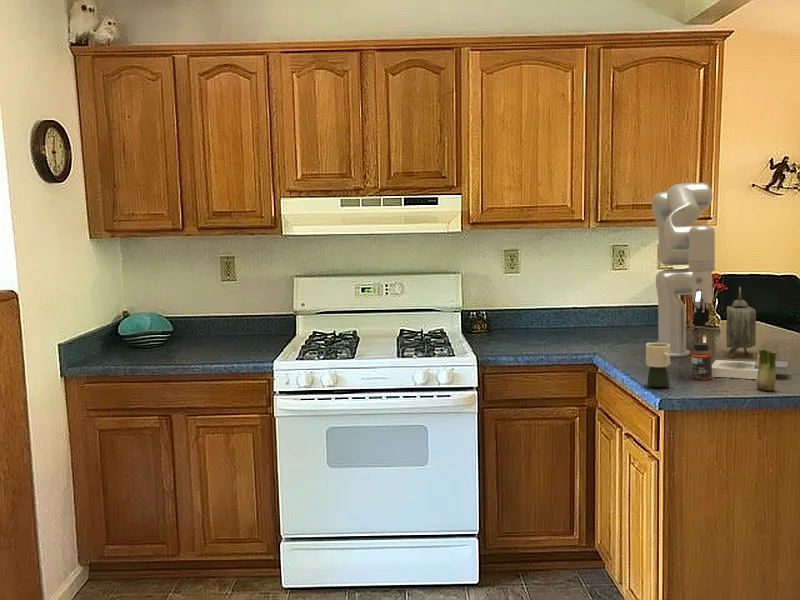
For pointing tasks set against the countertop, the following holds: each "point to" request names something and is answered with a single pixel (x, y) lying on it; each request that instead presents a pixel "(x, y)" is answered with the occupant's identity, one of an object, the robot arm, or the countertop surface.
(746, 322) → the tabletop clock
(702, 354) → the supplement bottle
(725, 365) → the socket block
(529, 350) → the countertop surface
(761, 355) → the fennel bulb
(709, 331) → the countertop surface
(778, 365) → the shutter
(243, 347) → the countertop surface
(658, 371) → the character mug
